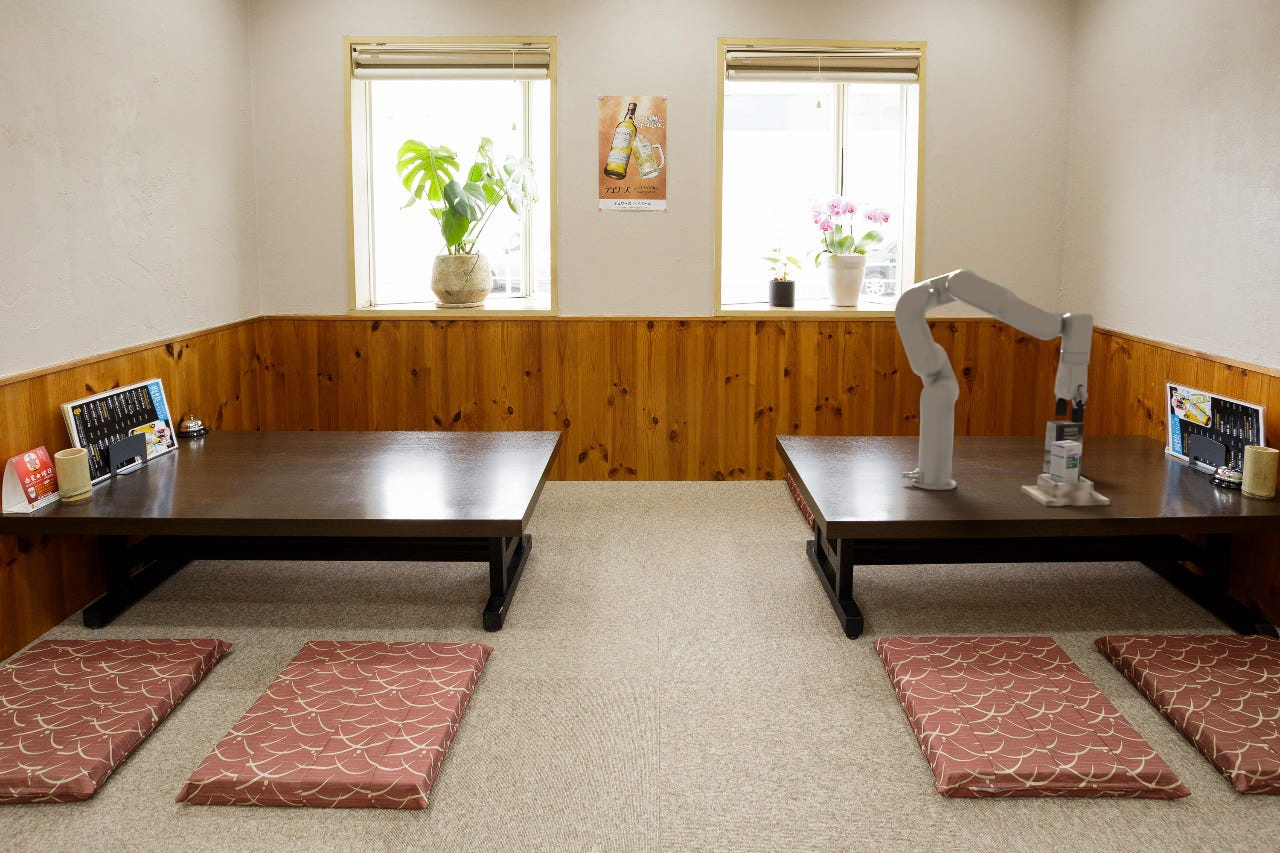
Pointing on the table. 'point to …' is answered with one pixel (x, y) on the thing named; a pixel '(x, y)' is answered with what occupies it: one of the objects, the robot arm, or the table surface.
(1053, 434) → the coffee box
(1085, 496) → the holder
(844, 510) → the table surface
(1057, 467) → the syrup box
